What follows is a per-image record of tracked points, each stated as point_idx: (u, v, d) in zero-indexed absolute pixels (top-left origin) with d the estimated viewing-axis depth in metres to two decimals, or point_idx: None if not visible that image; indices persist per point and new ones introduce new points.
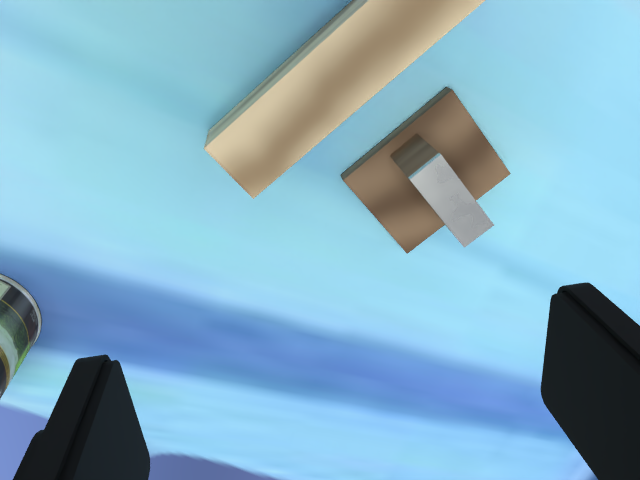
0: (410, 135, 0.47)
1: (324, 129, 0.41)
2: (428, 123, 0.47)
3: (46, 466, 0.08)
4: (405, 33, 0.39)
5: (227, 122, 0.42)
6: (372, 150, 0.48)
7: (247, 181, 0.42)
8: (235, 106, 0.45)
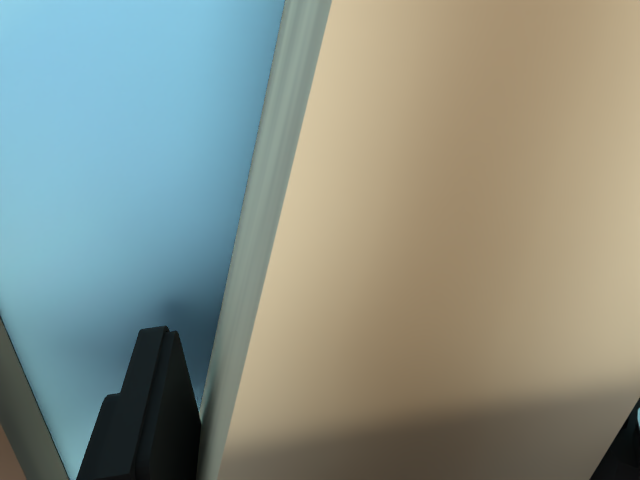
0: None
1: (309, 282, 0.06)
2: None
3: (129, 419, 0.09)
4: None
5: None
6: None
7: None
8: None
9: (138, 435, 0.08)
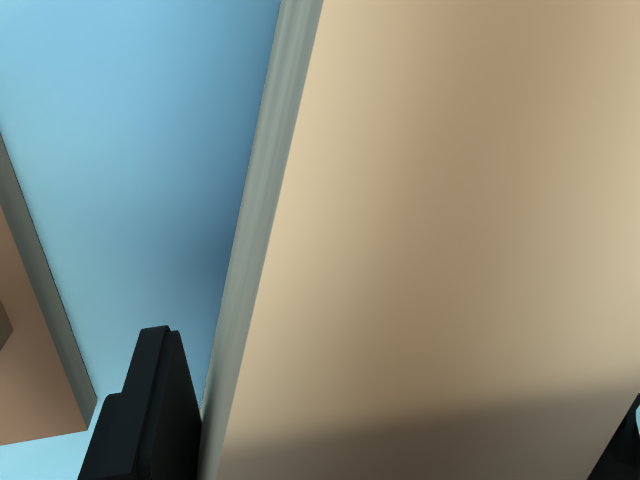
0: (13, 315, 0.17)
1: (304, 283, 0.06)
2: (28, 362, 0.17)
3: (131, 419, 0.09)
4: None
5: None
6: (16, 197, 0.16)
7: None
8: None
9: (139, 435, 0.08)
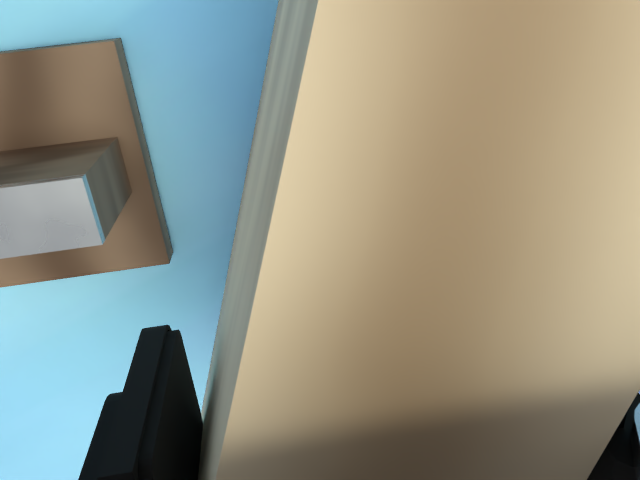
0: (133, 182, 0.28)
1: (301, 286, 0.06)
2: (138, 214, 0.29)
3: (132, 418, 0.09)
4: None
5: None
6: (136, 112, 0.28)
7: None
8: None
9: (141, 434, 0.08)
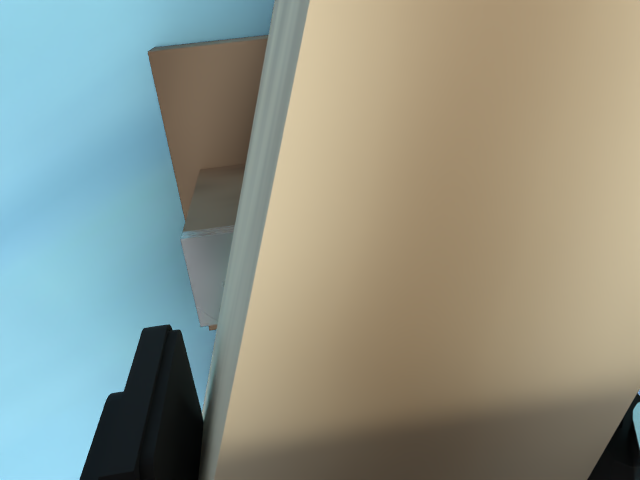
0: None
1: (296, 290, 0.06)
2: None
3: (133, 418, 0.09)
4: None
5: None
6: None
7: None
8: None
9: (142, 433, 0.08)
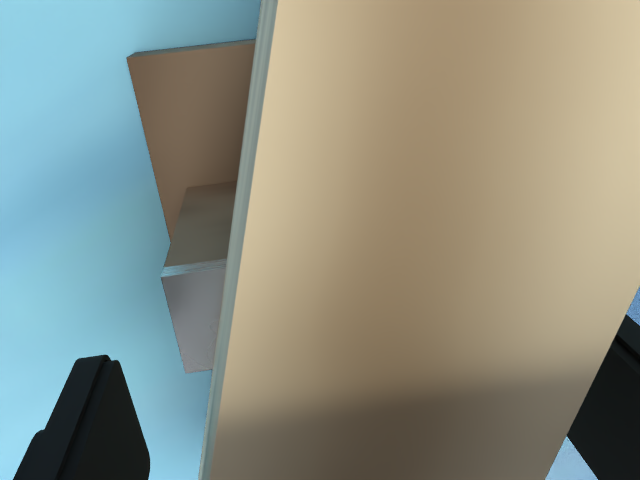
0: None
1: (279, 269, 0.07)
2: None
3: (46, 466, 0.08)
4: None
5: None
6: None
7: None
8: None
9: None
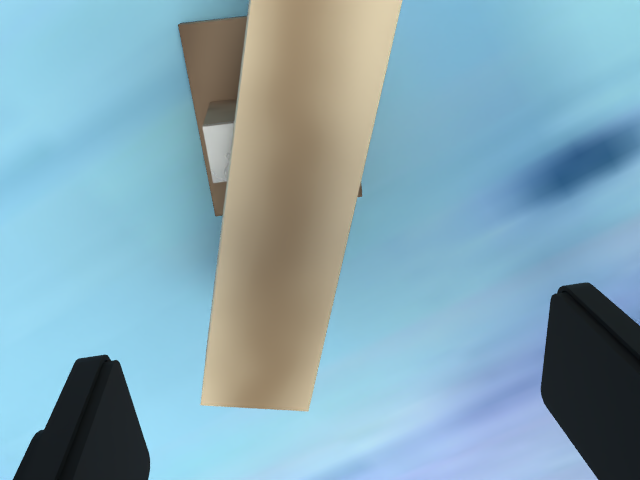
0: None
1: (254, 77, 0.21)
2: None
3: (46, 466, 0.08)
4: (260, 284, 0.24)
5: None
6: None
7: None
8: None
9: None
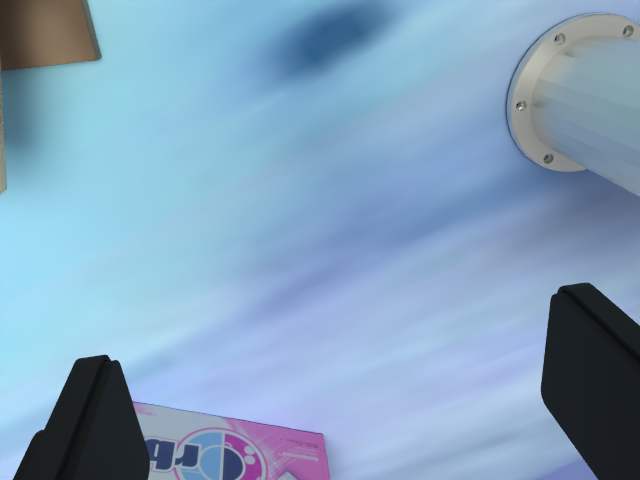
0: None
1: None
2: (68, 11, 0.36)
3: (46, 466, 0.08)
4: None
5: None
6: None
7: None
8: None
9: None
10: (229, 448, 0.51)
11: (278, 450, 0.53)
